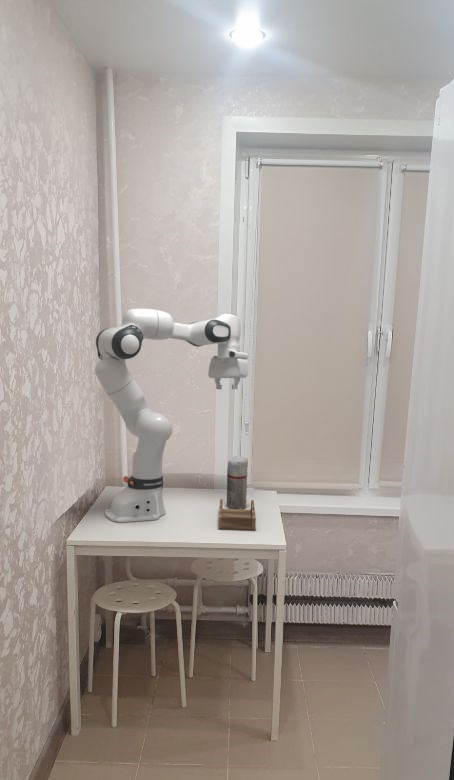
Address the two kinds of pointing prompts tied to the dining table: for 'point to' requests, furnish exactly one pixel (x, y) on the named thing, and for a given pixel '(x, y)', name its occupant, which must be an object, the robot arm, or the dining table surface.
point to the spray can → (237, 482)
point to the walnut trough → (237, 518)
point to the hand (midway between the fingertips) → (226, 389)
